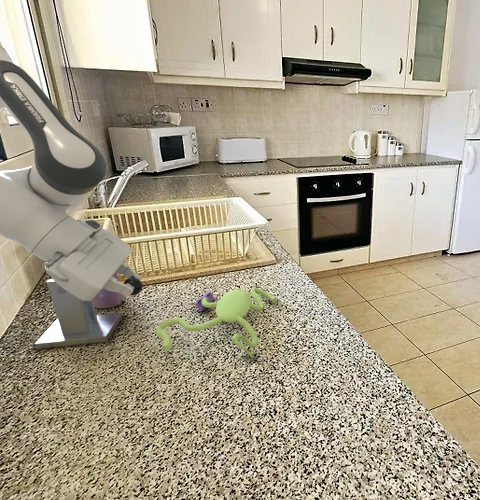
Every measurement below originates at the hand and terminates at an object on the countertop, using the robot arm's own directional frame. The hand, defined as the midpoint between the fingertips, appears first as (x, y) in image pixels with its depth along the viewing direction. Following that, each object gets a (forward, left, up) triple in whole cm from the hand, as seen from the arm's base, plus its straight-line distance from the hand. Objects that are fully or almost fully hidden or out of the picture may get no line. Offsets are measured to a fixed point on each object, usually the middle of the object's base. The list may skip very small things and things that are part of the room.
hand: (135, 287), depth 75 cm
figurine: (+17, -4, -9) cm, 20 cm away
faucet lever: (-6, 0, -1) cm, 6 cm away
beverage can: (-10, +12, -9) cm, 18 cm away
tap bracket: (-11, 0, -9) cm, 15 cm away
